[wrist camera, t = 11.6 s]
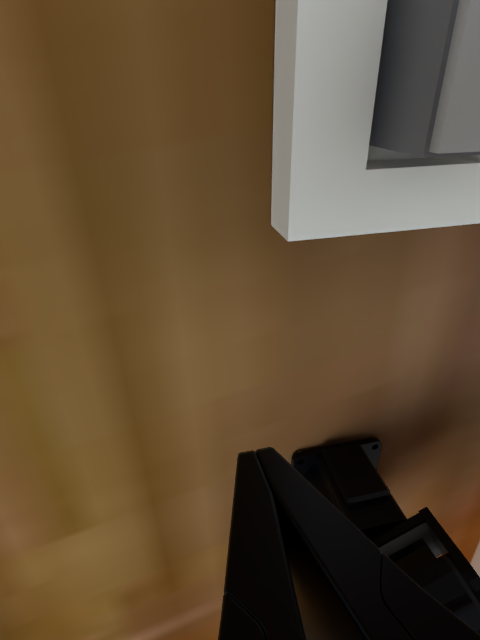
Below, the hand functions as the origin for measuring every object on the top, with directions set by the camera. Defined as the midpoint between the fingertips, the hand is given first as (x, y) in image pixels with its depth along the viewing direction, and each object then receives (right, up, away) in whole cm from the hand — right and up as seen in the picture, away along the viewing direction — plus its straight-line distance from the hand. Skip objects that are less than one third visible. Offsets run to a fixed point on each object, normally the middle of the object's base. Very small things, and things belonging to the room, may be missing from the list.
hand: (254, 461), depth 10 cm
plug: (+7, +14, +8) cm, 17 cm away
